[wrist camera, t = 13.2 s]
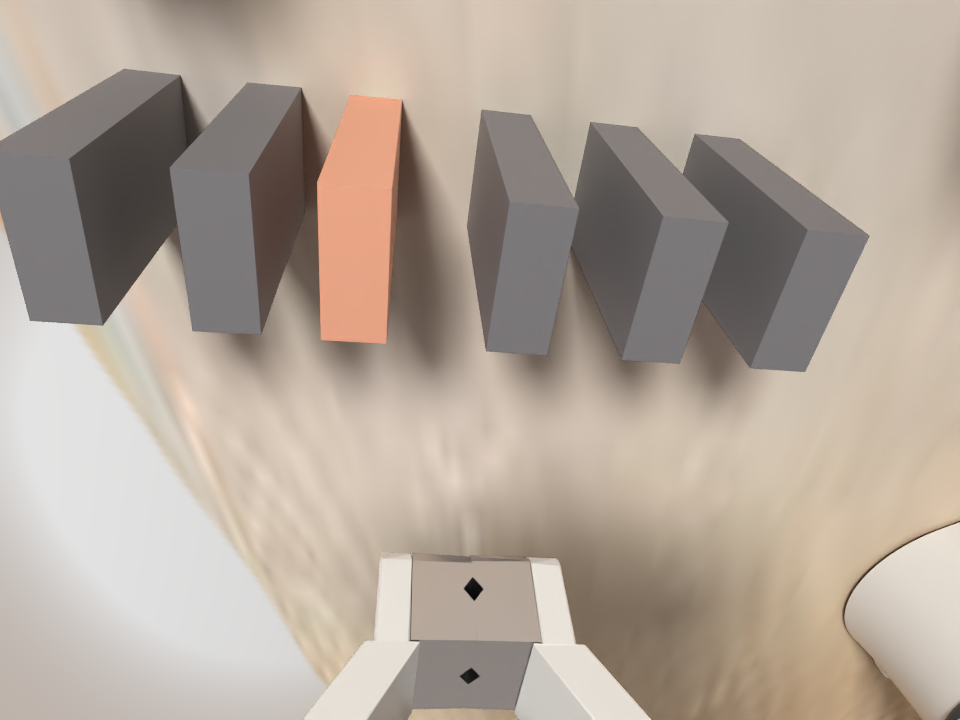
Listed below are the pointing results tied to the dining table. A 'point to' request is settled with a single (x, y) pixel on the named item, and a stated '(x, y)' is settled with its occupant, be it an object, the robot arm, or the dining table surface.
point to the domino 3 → (359, 221)
